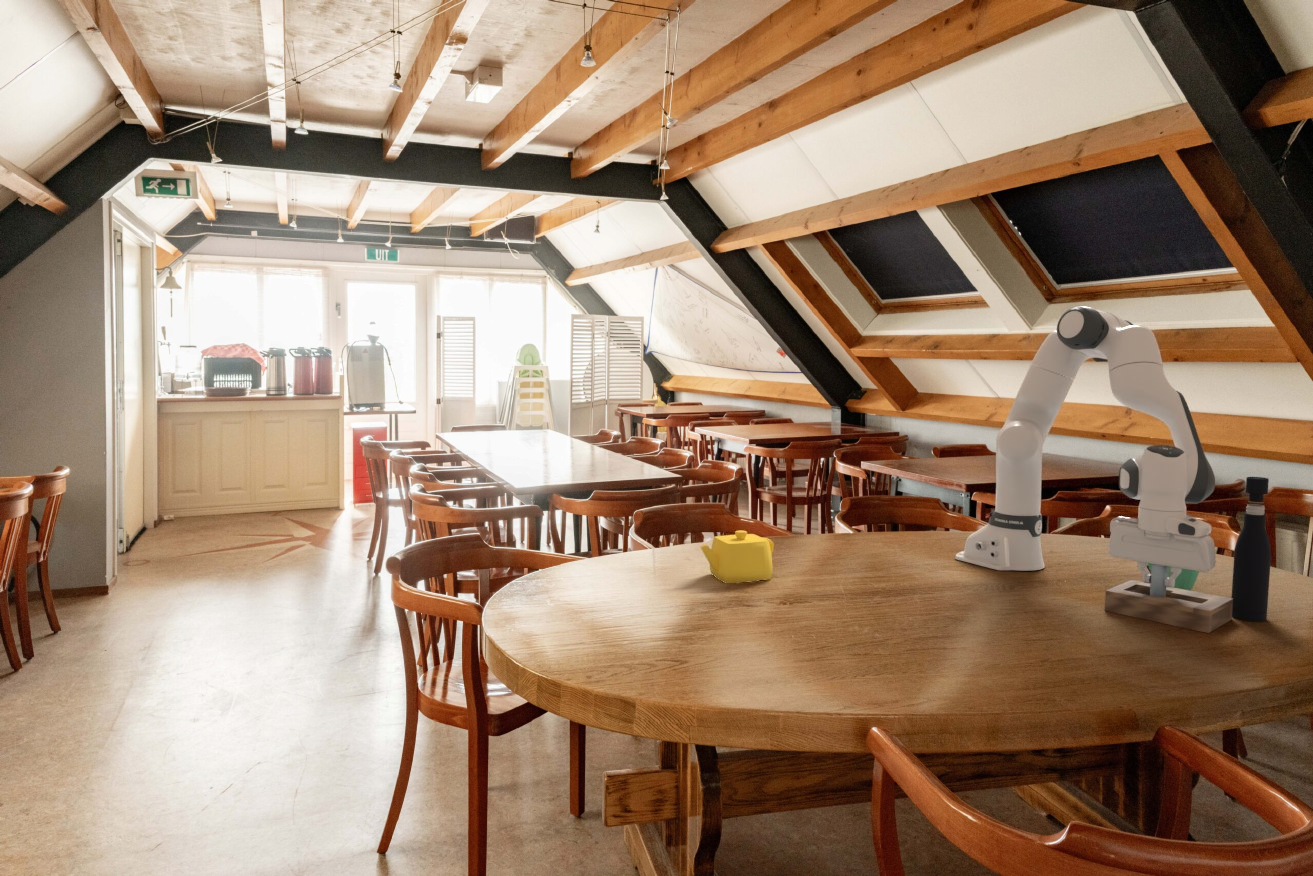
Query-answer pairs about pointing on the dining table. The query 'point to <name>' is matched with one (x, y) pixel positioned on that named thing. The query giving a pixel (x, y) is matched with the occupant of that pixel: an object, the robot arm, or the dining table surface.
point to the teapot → (740, 557)
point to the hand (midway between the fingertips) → (1158, 584)
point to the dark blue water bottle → (1252, 558)
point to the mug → (1181, 578)
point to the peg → (1158, 580)
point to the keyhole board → (1170, 606)
